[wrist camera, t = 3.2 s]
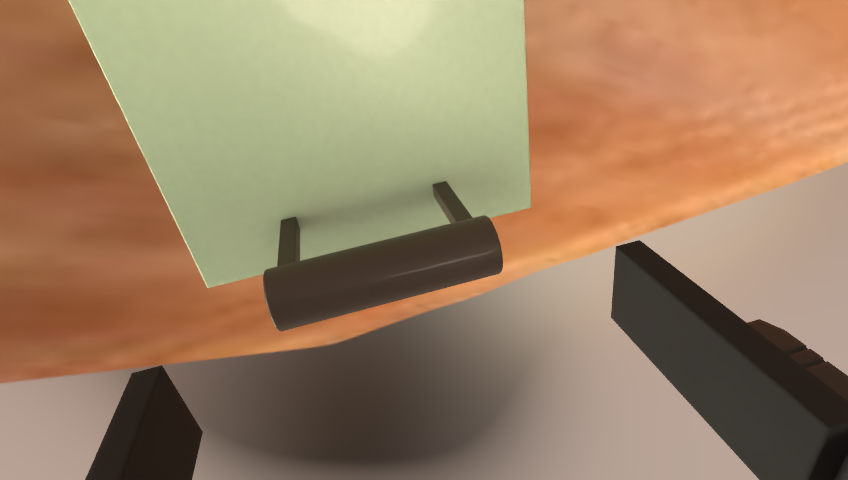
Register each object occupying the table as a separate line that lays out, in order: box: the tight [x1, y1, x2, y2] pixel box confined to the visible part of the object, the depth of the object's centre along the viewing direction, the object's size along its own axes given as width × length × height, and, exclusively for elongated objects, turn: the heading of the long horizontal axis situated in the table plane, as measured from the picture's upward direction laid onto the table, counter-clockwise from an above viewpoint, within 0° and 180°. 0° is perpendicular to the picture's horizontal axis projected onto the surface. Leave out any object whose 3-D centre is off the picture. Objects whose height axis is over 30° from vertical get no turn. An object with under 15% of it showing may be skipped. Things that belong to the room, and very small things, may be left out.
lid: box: [68, 0, 531, 331], centre depth 16 cm, size 18×16×8 cm
